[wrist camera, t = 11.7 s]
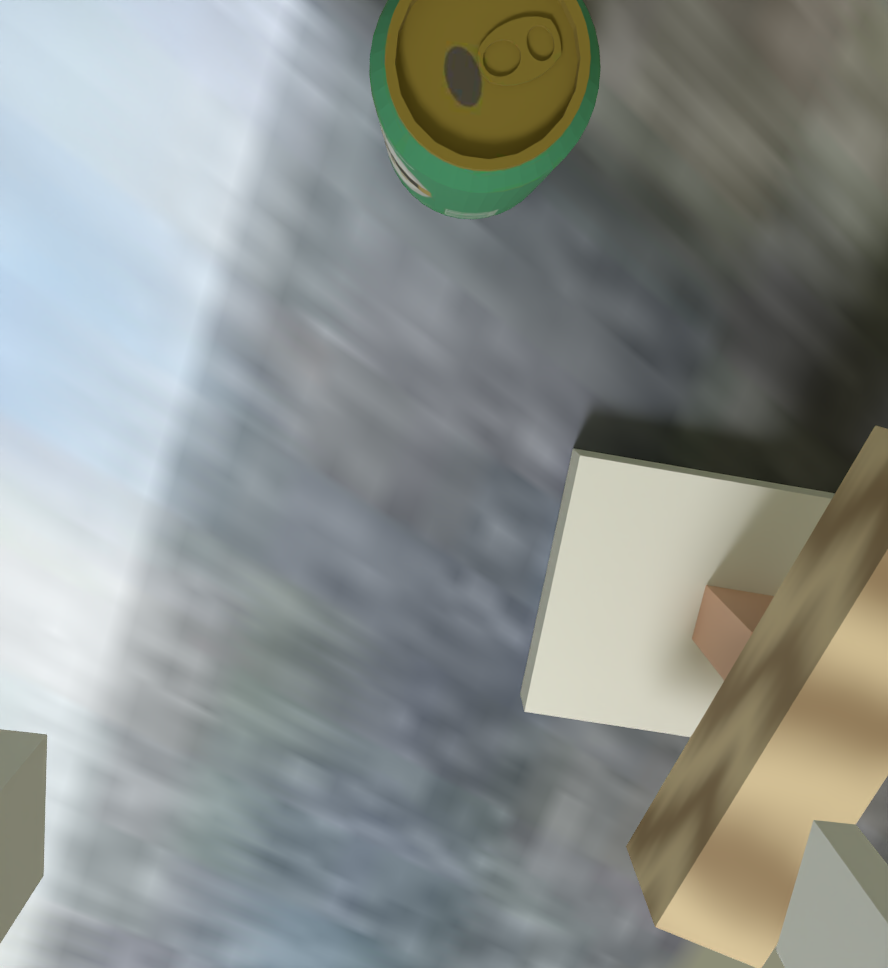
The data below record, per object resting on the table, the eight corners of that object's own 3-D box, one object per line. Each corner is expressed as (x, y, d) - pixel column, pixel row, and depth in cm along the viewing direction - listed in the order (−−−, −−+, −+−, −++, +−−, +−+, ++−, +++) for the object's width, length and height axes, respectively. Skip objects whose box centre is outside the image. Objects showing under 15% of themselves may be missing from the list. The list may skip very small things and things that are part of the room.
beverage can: (360, 77, 38) (330, -22, 26) (522, 14, 37) (565, -116, 26) (419, 245, 40) (416, 222, 28) (575, 186, 39) (638, 138, 27)
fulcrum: (572, 448, 42) (606, 482, 34) (940, 511, 43) (1054, 558, 35) (520, 693, 45) (539, 776, 37) (865, 746, 46) (954, 838, 38)
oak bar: (718, 884, 39) (760, 969, 34) (626, 846, 38) (655, 926, 33) (974, 475, 34) (1065, 504, 30) (875, 425, 34) (950, 446, 29)
